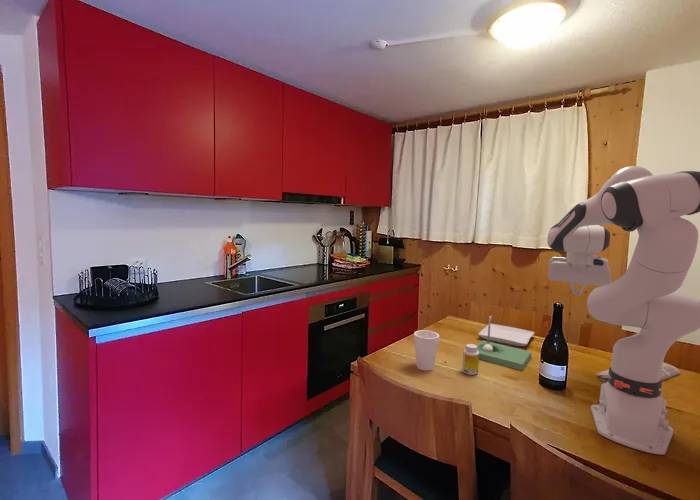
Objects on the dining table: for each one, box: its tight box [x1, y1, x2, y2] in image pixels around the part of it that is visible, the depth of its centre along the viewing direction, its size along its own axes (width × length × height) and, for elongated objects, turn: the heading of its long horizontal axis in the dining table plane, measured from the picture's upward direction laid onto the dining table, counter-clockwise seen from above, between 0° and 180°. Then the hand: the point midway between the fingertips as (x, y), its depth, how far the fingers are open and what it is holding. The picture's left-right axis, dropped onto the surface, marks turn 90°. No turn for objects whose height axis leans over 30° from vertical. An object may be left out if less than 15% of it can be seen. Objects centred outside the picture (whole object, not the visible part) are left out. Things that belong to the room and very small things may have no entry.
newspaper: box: [595, 362, 681, 383], centre depth 132 cm, size 35×12×4 cm, turn 116°
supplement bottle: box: [462, 343, 480, 376], centre depth 132 cm, size 6×6×10 cm
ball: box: [483, 344, 493, 352], centre depth 149 cm, size 4×4×4 cm
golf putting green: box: [475, 339, 532, 371], centre depth 146 cm, size 16×20×2 cm
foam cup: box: [413, 329, 440, 372], centre depth 135 cm, size 10×9×13 cm
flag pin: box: [486, 314, 493, 343], centre depth 156 cm, size 4×1×12 cm, turn 142°
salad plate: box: [478, 323, 535, 347], centre depth 168 cm, size 21×21×3 cm
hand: (576, 294), depth 134 cm, fingers closed
